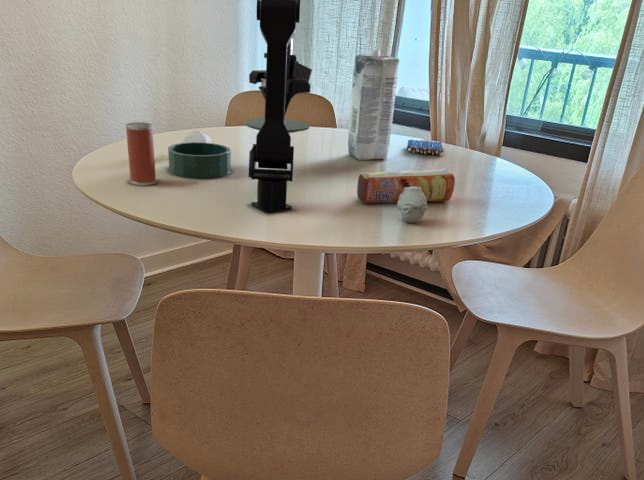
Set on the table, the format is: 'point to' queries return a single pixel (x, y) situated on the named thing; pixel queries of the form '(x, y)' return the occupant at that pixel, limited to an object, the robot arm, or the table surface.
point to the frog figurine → (412, 204)
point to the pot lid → (289, 123)
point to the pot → (199, 160)
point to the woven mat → (425, 146)
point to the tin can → (141, 153)
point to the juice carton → (372, 105)
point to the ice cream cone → (196, 137)
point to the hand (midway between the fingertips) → (277, 119)
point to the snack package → (405, 185)
